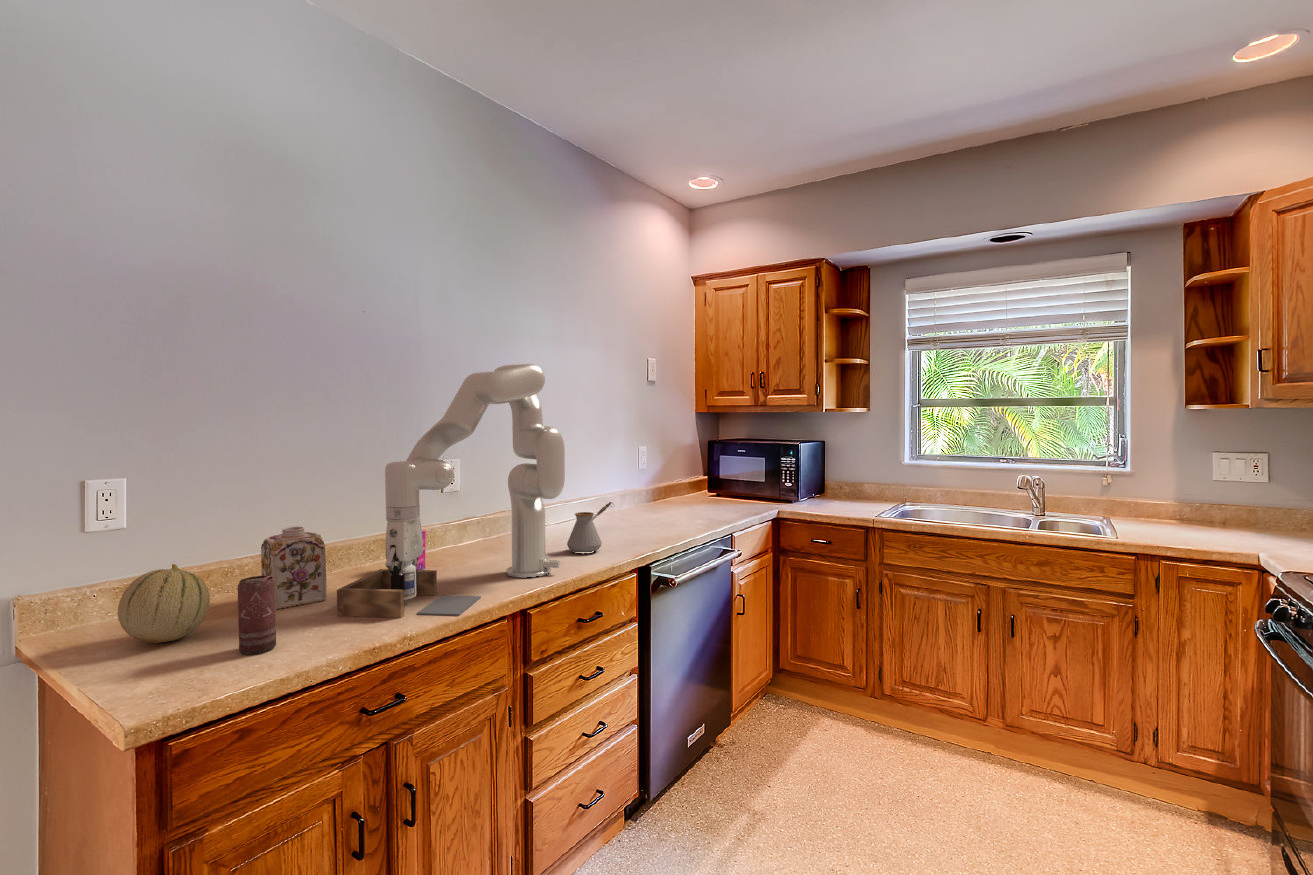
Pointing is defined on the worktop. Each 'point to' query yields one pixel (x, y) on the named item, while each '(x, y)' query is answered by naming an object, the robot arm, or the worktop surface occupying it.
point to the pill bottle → (409, 579)
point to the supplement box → (422, 558)
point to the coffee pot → (585, 532)
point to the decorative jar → (295, 566)
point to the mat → (449, 605)
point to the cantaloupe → (163, 605)
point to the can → (256, 615)
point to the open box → (380, 595)
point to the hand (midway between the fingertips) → (404, 586)
